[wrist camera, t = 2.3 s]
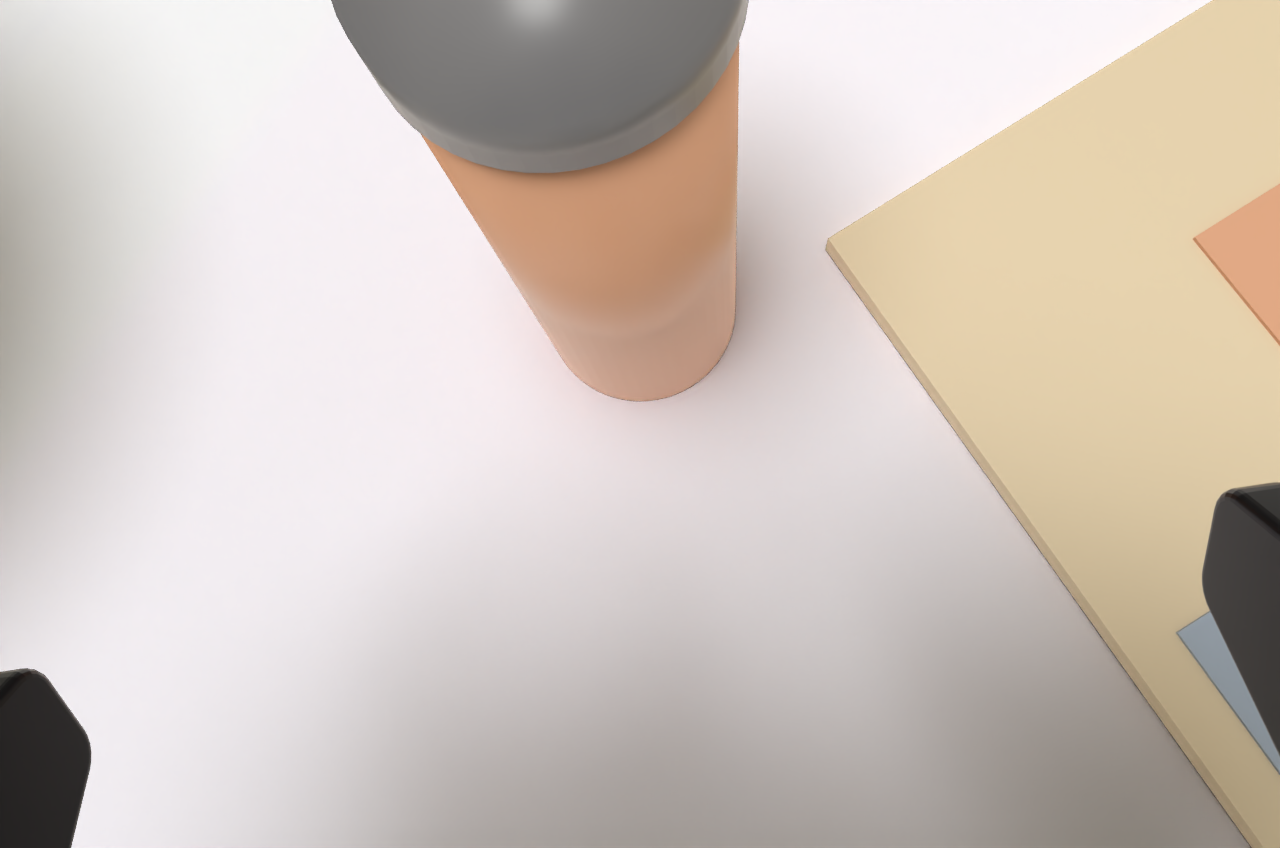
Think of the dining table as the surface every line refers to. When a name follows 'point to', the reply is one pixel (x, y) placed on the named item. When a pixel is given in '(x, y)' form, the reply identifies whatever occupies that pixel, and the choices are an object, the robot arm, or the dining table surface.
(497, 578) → the dining table surface
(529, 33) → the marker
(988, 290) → the beige flat board
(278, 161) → the dining table surface
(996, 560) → the dining table surface
